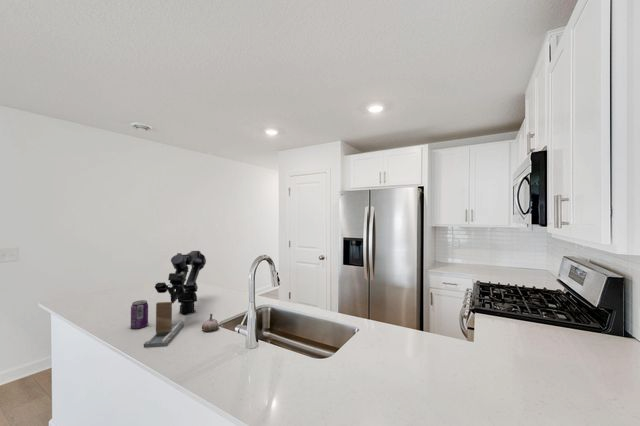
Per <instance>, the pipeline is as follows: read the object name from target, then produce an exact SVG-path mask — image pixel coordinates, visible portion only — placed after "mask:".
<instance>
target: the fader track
mask: <svg viewBox="0 0 640 426" xmlns="http://www.w3.org/2000/svg"><path fill="white" fill-rule="evenodd" d="M184 326H185V324H184V323H182V321H178V323H172V331H171V332H169V333H168V335H167V336H159V337H157V333H156V332H154V334H152V335H151V337H149V338H148V339H147V340H146V341H145V342H144V343H143V348H156V347H157V348H159V347H168V346H169V344H170V343H172V341H173V340H174V339H175V337H176V336H177V335H178V334H179V332H181V330H182V329H183V328H184Z"/></svg>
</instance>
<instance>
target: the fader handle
mask: <svg viewBox="0 0 640 426" xmlns="http://www.w3.org/2000/svg"><path fill="white" fill-rule="evenodd" d="M172 319H173V303H172V302H171V301H165V302H164V301H159V302H158V301H157V302H156V304H155V333H157V337H159V336H167V335H168V333H169V332H171V331H172V324H173V323H172V322H173V320H172Z"/></svg>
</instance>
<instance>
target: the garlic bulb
mask: <svg viewBox="0 0 640 426" xmlns="http://www.w3.org/2000/svg"><path fill="white" fill-rule="evenodd" d="M219 327H220V324H219V322H218V320H217V319H215V318H213V313H211V312H210V314H209V319H208V320H206V321H204V322H203V323H202V325H201V329H202V331H204V332H210V331H215V330H217V329H219Z"/></svg>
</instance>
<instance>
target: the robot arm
mask: <svg viewBox="0 0 640 426" xmlns="http://www.w3.org/2000/svg"><path fill="white" fill-rule="evenodd" d="M170 262H171V264H172V266H173V268H174V269H175V272H174V273H173V272H170V273H168V278H167V279H168V281H169V283H168V285H167V283H166V282H156V283H155V286H154V288H155V291H156V292H157V293H158V294H164V293H165V294H166V293H167V292H168V294H169V295H170V296H169V297H170V302H172V304H174V303H175V302H176V301H177V303H178V304H180V305H179V314H180V315H184V316H187V315H190V314H193V313H196V310H195V302H198V296H197V293H196V292H198V284H197V282H196V281H197V279H198V277H199V273H200V271H201V270H203V269H204V267H205V265H206V263H207V259H206V256H205V255H204V254H203V253H201V251H200V250H191V251H190V252H188V253H186V254H182V253H181V252H180V253H179V252H177V253H176V255H173V256H172V257H171V259H170ZM189 266H190V267H191V269H190V268H189ZM189 269H190V270H189ZM189 271H190V272H189ZM188 273H189V274H188ZM187 275H188V276H187Z"/></svg>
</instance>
